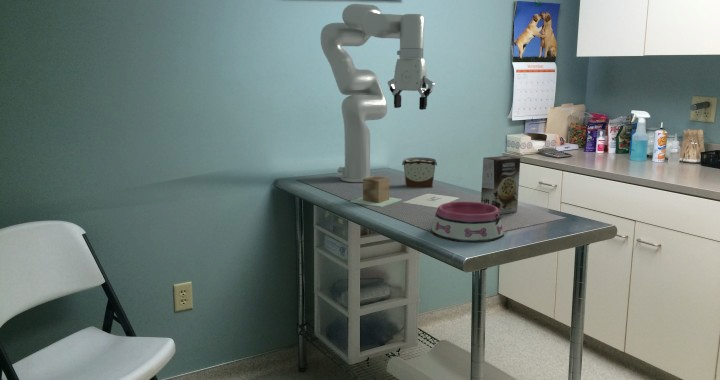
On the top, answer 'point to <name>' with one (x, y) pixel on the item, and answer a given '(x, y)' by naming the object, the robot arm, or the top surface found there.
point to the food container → (419, 171)
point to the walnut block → (376, 189)
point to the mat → (390, 201)
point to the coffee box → (501, 183)
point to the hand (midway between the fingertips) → (410, 108)
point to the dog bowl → (468, 222)
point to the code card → (431, 200)
